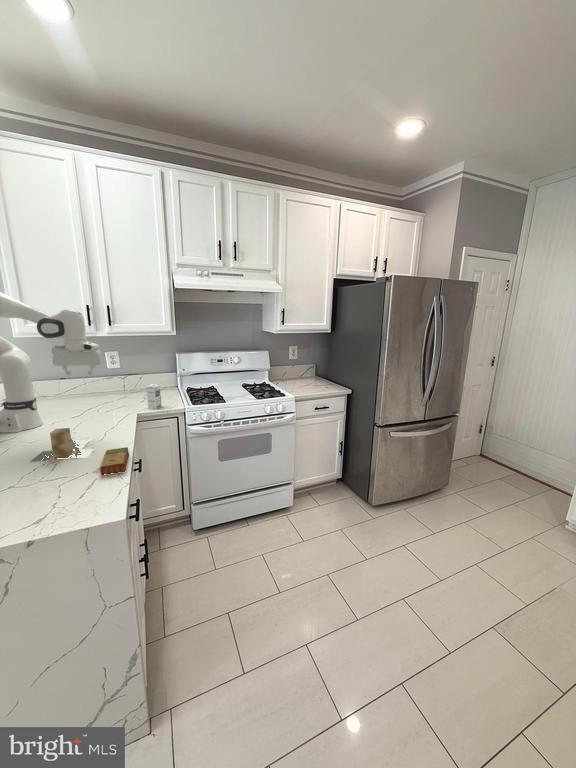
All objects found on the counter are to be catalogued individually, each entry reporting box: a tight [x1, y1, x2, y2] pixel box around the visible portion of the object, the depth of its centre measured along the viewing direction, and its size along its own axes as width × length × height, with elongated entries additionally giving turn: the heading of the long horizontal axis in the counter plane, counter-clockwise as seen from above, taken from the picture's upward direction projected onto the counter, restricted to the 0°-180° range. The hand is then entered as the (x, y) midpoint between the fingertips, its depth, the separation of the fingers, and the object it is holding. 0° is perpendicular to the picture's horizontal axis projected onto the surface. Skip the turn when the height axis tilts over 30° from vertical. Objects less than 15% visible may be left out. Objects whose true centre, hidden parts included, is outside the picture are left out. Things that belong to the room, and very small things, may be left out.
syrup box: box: [145, 383, 162, 410], centre depth 197 cm, size 6×6×14 cm
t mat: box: [29, 438, 81, 463], centre depth 138 cm, size 21×23×1 cm
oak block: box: [49, 427, 73, 459], centre depth 129 cm, size 5×5×11 cm
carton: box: [99, 446, 130, 476], centre depth 123 cm, size 8×16×4 cm, turn 22°
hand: (79, 374), depth 150 cm, fingers open, 8 cm apart
